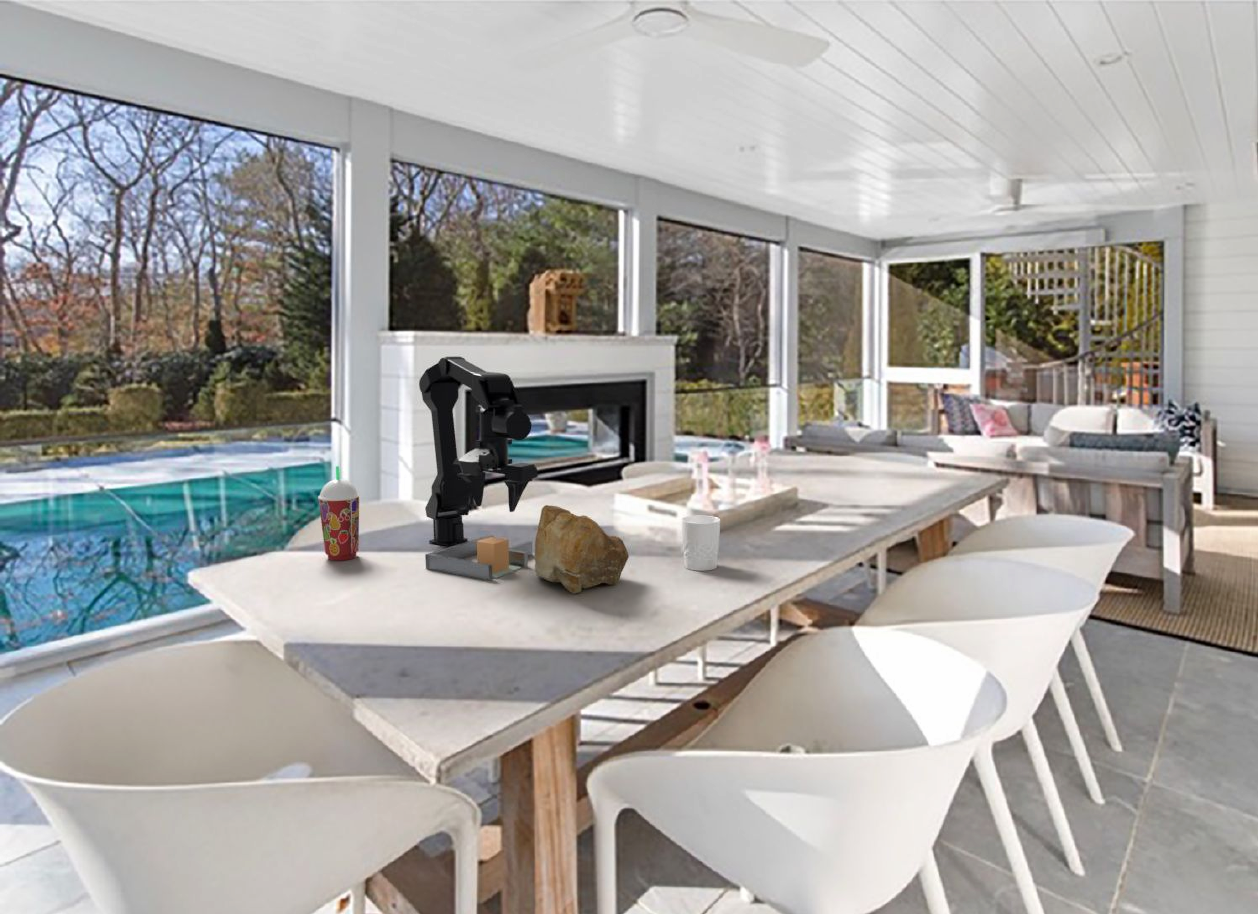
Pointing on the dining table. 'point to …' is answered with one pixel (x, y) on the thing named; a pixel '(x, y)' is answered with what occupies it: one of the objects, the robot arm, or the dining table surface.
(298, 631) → the dining table surface
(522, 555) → the steel rail course
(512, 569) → the pad
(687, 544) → the white cup
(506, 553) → the orange block
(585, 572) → the rough brown rock
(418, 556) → the dining table surface
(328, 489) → the smoothie
